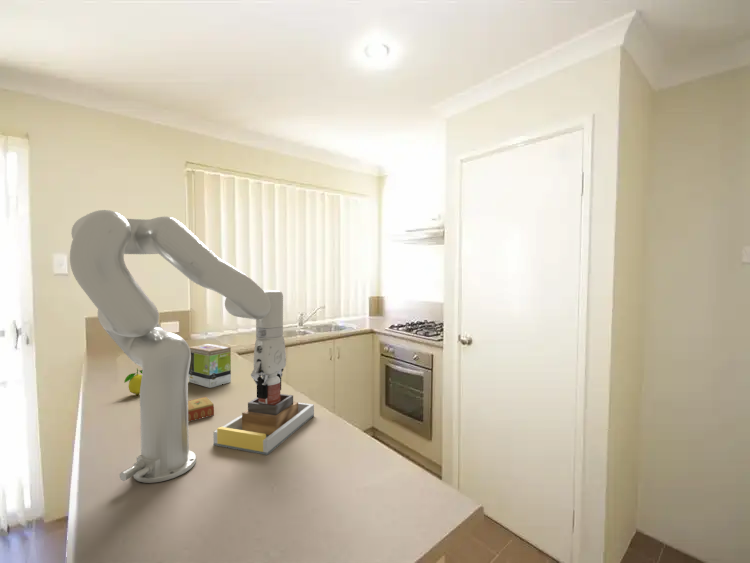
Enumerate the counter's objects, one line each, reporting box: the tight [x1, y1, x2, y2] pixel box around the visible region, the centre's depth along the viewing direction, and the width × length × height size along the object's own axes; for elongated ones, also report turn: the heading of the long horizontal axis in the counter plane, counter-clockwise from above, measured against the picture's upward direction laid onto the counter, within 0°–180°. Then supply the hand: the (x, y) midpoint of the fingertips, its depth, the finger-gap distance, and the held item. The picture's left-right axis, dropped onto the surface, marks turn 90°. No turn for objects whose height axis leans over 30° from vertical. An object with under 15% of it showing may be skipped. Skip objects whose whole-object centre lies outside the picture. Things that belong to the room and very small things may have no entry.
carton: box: [188, 396, 215, 422], centre depth 109 cm, size 8×16×4 cm, turn 131°
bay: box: [213, 401, 315, 456], centre depth 102 cm, size 25×16×5 cm, turn 163°
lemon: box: [123, 367, 142, 396], centre depth 130 cm, size 7×6×10 cm
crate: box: [241, 393, 299, 435], centre depth 103 cm, size 12×11×8 cm
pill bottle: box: [258, 371, 281, 405], centre depth 103 cm, size 6×6×11 cm
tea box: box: [188, 343, 232, 389], centre depth 144 cm, size 15×10×15 cm
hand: (269, 393), depth 103 cm, fingers closed on pill bottle, 6 cm apart
